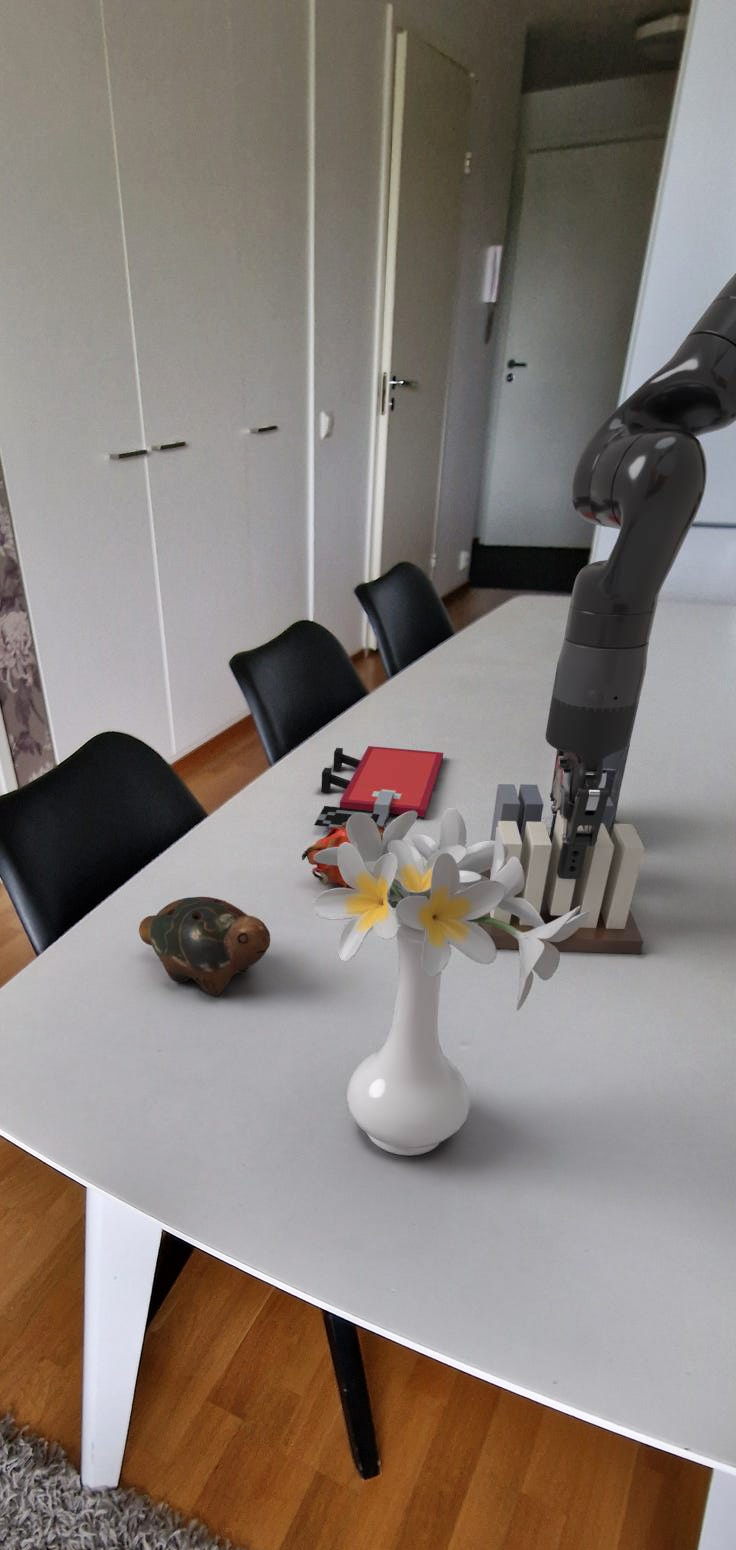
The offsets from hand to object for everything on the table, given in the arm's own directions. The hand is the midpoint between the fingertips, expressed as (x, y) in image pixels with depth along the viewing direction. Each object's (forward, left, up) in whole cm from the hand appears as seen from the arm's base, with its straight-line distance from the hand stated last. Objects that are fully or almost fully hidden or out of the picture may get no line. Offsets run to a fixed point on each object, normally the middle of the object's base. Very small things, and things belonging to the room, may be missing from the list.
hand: (563, 862), depth 93 cm
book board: (0, -5, -7) cm, 9 cm away
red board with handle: (+19, -35, -7) cm, 41 cm away
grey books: (0, -10, -6) cm, 12 cm away
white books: (0, 0, -6) cm, 6 cm away
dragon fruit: (+21, -7, -7) cm, 23 cm away
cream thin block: (0, 0, -4) cm, 4 cm away
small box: (-7, -24, -7) cm, 26 cm away
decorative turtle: (+35, +12, -7) cm, 38 cm away
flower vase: (+15, +33, -7) cm, 37 cm away
